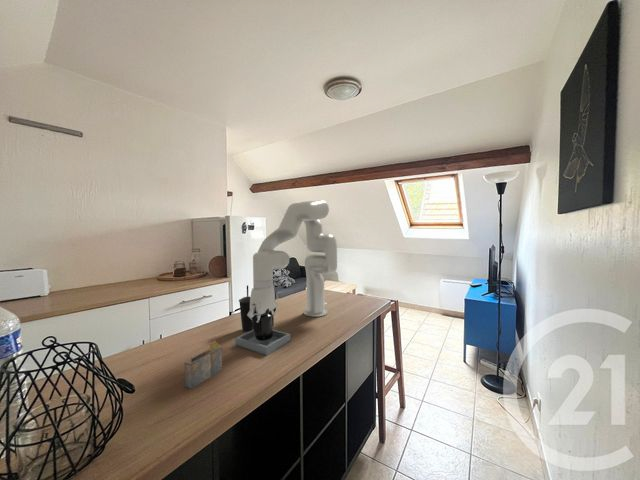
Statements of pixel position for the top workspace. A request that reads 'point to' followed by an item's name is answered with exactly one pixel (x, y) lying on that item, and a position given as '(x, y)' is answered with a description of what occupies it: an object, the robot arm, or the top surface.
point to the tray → (263, 342)
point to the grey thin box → (203, 365)
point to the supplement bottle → (265, 327)
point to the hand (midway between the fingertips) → (263, 328)
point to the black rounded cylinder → (245, 313)
